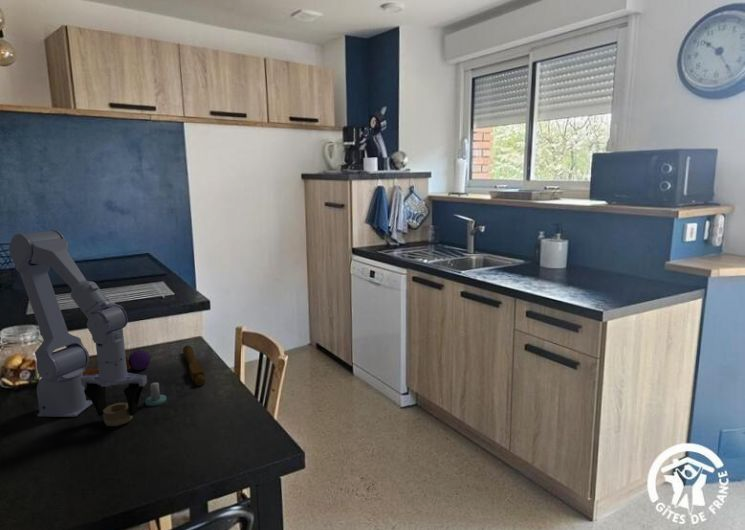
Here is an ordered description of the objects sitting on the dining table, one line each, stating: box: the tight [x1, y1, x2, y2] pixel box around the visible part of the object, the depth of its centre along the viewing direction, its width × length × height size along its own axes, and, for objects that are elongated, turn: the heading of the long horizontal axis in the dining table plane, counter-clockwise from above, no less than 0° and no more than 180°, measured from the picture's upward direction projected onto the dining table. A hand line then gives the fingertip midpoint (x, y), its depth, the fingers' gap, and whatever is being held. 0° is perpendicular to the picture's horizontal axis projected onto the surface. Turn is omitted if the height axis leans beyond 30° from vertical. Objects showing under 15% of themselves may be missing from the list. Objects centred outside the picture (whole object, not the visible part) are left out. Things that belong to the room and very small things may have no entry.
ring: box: [102, 402, 134, 427], centre depth 115 cm, size 6×6×3 cm
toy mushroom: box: [144, 382, 168, 407], centre depth 124 cm, size 5×5×5 cm
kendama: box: [83, 349, 152, 377], centre depth 142 cm, size 6×6×20 cm
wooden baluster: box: [182, 345, 206, 387], centre depth 147 cm, size 3×3×30 cm
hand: (117, 413), depth 115 cm, fingers open, 7 cm apart
